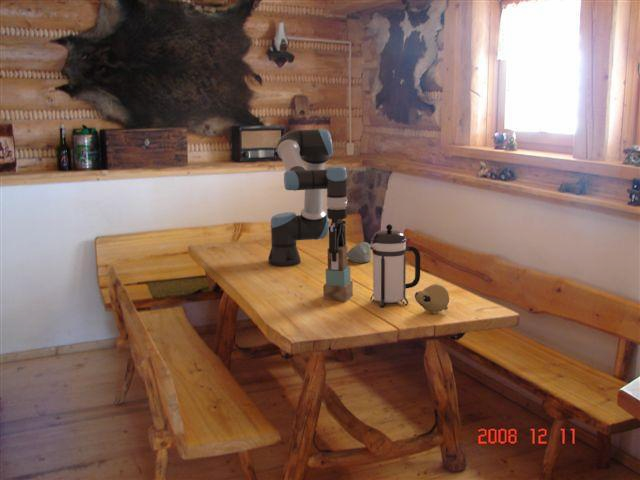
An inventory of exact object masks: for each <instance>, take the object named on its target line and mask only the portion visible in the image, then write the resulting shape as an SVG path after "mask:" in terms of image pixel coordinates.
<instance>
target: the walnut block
mask: <svg viewBox="0 0 640 480" xmlns="http://www.w3.org/2000/svg"><path fill="white" fill-rule="evenodd" d="M326 250H327V269H328V270H333V269H331V253H329V247H328V248H327V249H326ZM337 253H339V270H341V271H343V270H344V269H345V268H347V267H349V266H348V265H349V263H348V257H347V253H348V246H347V245H346V246H338V252H337Z"/></svg>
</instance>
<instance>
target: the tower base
mask: <svg viewBox="0 0 640 480" xmlns="http://www.w3.org/2000/svg"><path fill="white" fill-rule="evenodd" d="M353 285H354V283H353V281H352V280H351V282H349V283H348V284H347V285H346V286H345V287H343V286H331V285H326V283H325V284H324V285H323V287H322V288H323V291H322V292H323V301H328V302H340V303H342V302H343V303H347V302H348V301H349V300H350V299H351V298H352V297H353V295H354V294H353V292H354V290H353V289H354V288H353Z"/></svg>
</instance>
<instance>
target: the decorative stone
mask: <svg viewBox="0 0 640 480" xmlns="http://www.w3.org/2000/svg"><path fill="white" fill-rule="evenodd" d="M371 251H372V250H371V248H370V243H369V242H365V241H364V242H359V243H357V244H356V245H354V246H353V247H352V248H351V249H349V250H347V259H348V260H349V261H351V262H353V263H358V264H365V263H368V262H371V260H372V252H371Z"/></svg>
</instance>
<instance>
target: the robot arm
mask: <svg viewBox="0 0 640 480" xmlns="http://www.w3.org/2000/svg"><path fill="white" fill-rule="evenodd" d="M332 141H333V140H332V136H331V133H330V131H329V130H328V129H320V128H318V129H293V130H290V131H287V132H286V133H285V134H283V135H282V136H281V137H280V139H278V142H277V144H276V152H277V155H278V157H279V158H280V159H281V160H282V163H283V166H284V169H285V172H284V174H283V184H284V189H285V190H286V191H294V192H295V191H304V198H303V199H304V201H303V202H304V203H303V205H304V208H302V209H301V211H300V214H299V215H297V214H296V213H295V212H294V211H288V212H281V213H277V214H274V215H273V216H272V217H270V218H271V219H270V235H271V236H270V237H271V240H270V241H271V242H270V243H271V249H270V252H269V255H268V258H267V260H268V262H267V264H268V265H270V266H273V267H291V266H292V267H293V266H297V265H299V264H301V261H302V260H301V255H300V253H299V250H298V248H297V241H308V240H311V241H312V240H315V241H317V240H323V239H325V238H326V237H327V236H328V248H329V253H331V269H333V270H339V253H337V252H338V246H346V247H347V240H346V220H345V219H347V218H348V208H347V207H348V202H349V200H348V199H347V197H348V195H347V193H348V190H347V188H348V180H347V179H348V175H347V174H348V172H347V167H345V166H340V165H334V166H328V167H326V166H325V165H326V164H327V163H328V162H329V157H332V156H333V153H334V149H333V148H334V147H333V142H332ZM304 163H305V164H304ZM325 167H326V168H325ZM325 190H326V208H327V209H326V210H325V209H323V207H324V191H325ZM326 211H327V212H326ZM330 220H331V222H330Z"/></svg>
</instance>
